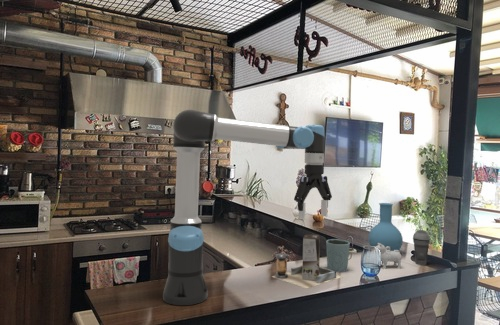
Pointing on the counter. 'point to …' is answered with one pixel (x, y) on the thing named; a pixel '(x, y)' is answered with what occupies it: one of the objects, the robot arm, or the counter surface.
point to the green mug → (337, 254)
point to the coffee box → (311, 257)
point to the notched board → (296, 279)
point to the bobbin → (281, 265)
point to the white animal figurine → (389, 256)
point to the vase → (386, 230)
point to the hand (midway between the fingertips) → (313, 217)
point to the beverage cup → (421, 246)
